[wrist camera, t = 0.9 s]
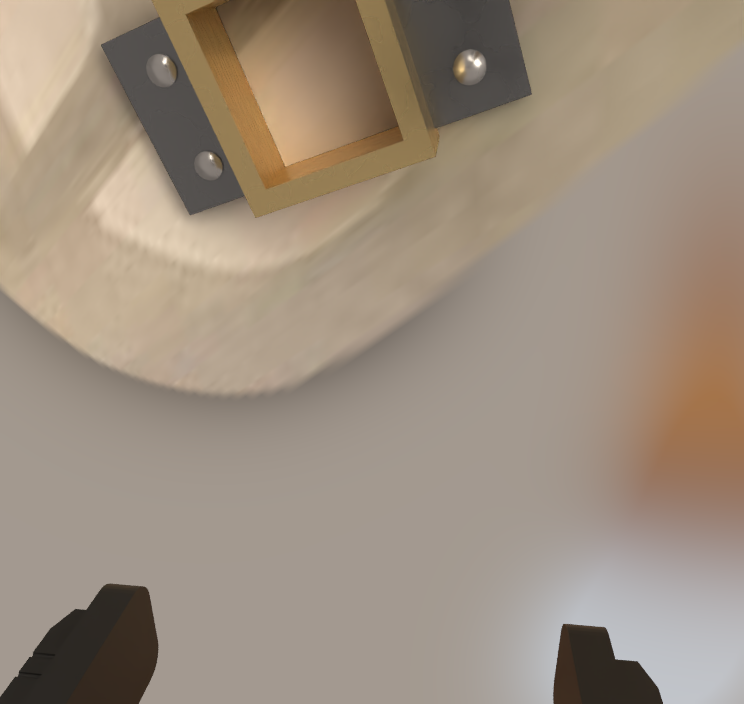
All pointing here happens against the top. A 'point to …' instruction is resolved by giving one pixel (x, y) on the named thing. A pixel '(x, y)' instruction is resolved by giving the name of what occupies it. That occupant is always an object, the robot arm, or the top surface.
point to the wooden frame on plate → (245, 121)
